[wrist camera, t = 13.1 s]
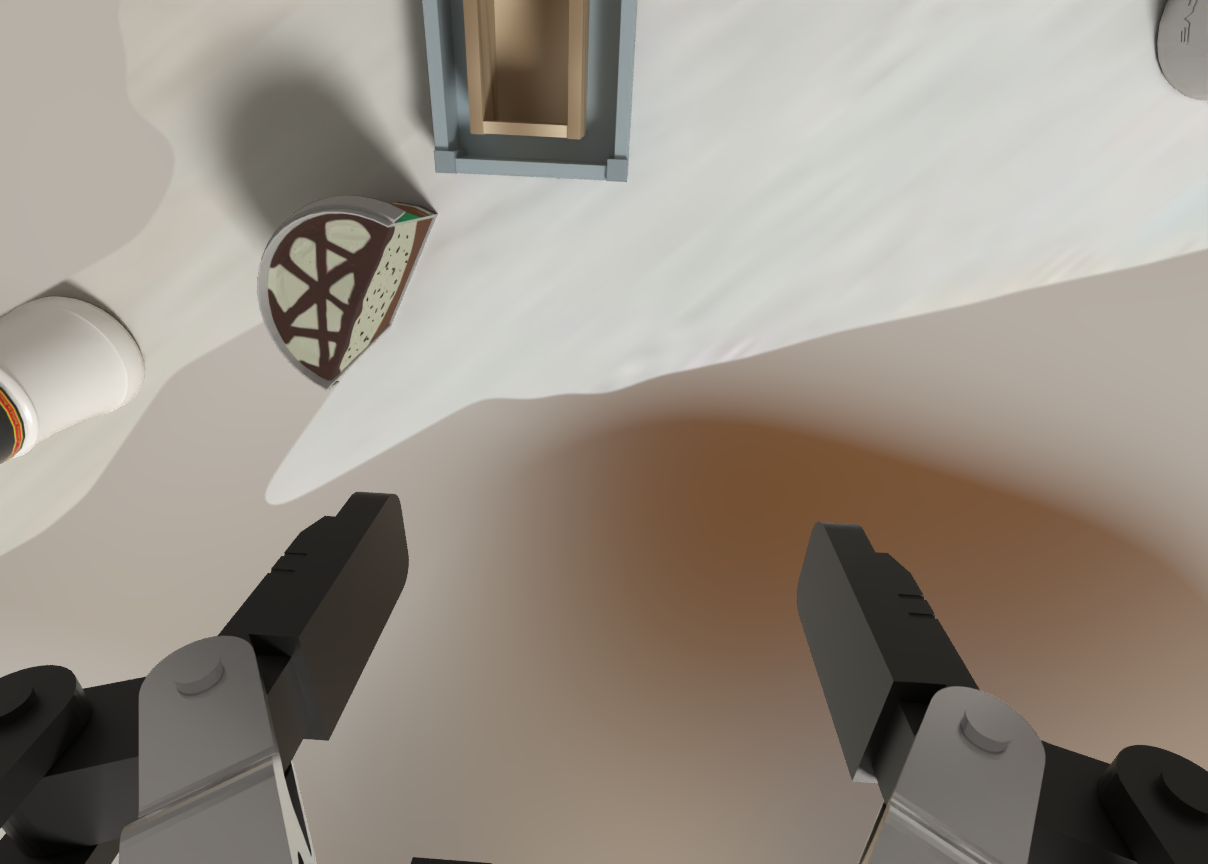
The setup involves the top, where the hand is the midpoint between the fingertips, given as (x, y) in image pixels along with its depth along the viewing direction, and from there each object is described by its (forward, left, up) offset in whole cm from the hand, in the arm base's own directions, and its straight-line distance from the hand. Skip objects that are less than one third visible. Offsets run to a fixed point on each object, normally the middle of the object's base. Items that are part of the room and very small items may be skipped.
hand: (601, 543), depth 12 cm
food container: (+18, +2, -33) cm, 38 cm away
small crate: (+6, -11, -32) cm, 35 cm away
